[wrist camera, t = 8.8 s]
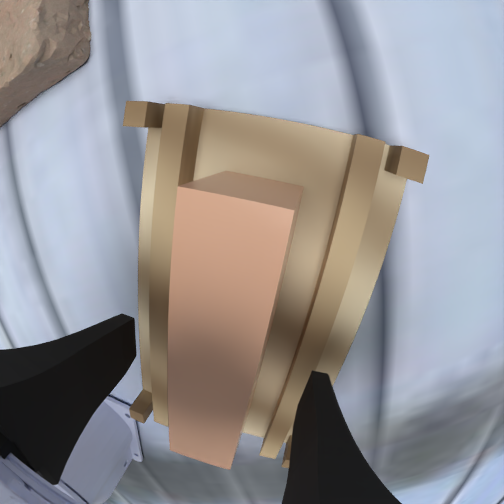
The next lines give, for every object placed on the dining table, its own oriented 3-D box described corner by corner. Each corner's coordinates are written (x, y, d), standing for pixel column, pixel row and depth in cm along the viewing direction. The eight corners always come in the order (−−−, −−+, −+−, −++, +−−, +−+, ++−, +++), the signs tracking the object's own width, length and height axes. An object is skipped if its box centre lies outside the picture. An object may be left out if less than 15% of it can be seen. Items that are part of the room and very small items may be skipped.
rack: (302, 434, 18) (297, 469, 15) (150, 389, 20) (130, 417, 17) (406, 152, 11) (429, 155, 9) (162, 106, 13) (126, 100, 10)
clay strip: (249, 409, 17) (230, 469, 13) (198, 394, 17) (169, 450, 13) (303, 186, 12) (294, 210, 8) (225, 170, 12) (177, 186, 8)
